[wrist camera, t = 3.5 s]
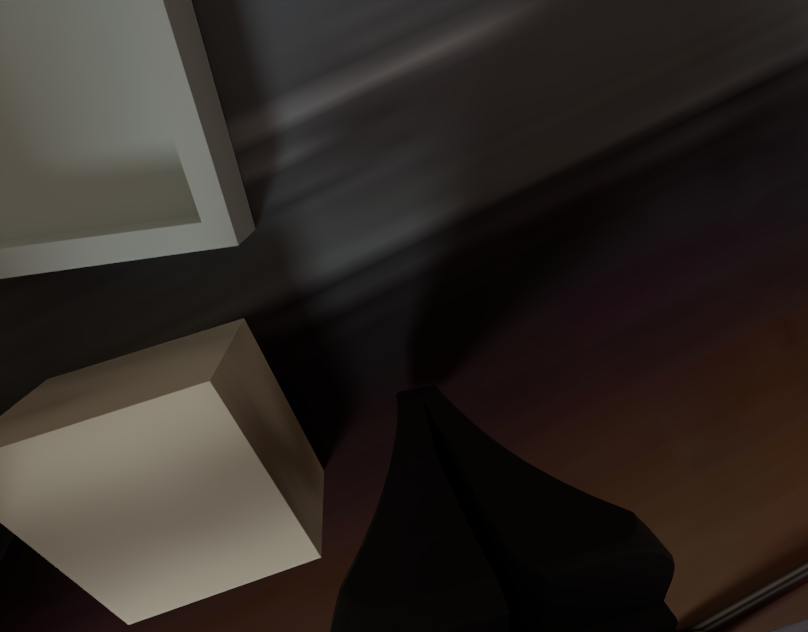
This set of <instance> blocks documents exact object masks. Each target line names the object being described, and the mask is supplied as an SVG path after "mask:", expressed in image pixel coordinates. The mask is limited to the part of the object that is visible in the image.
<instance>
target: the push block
mask: <svg viewBox="0 0 808 632" xmlns="http://www.w3.org/2000/svg"><path fill="white" fill-rule="evenodd" d="M323 479H324V470H323V468H322V466H321V464H320V463H319V461H318V459H317V457H316V455H315V453H314V451H313V449H312V447H311V445H310V443H309V442H308V440H307V438H306V436H305V434H304V432H303V430H302V428H301V426H300V424H299V422H298V420H297V419H296V417H295V415H294V413H293V411H292V409H291V407H290V405H289V403H288V401H287V399H286V398H285V396H284V394H283V392H282V390H281V388H280V386H279V384H278V382H277V380H276V378H275V376H274V375H273V373H272V371H271V369H270V367H269V365H268V363H267V361H266V359H265V357H264V355H263V354H262V352H261V350H260V348H259V346H258V344H257V342H256V340H255V338H254V336H253V334H252V332H251V331H250V329H249V327H248V325H247V323H246V321H245V319H244V318H243V319H239V320H236V321H233V322H230V323H227V324H223V325H220V326H217V327H214V328H210V329H207V330H204V331H201V332H198V333H194V334H191V335H188V336H185V337H181V338H178V339H175V340H172V341H169V342H165V343H162V344H159V345H156V346H153V347H149V348H146V349H143V350H140V351H136V352H133V353H130V354H127V355H124V356H120V357H117V358H114V359H111V360H108V361H104V362H101V363H98V364H95V365H91V366H88V367H85V368H82V369H79V370H75V371H72V372H69V373H66V374H62V375H59V376H56V377H53V378H50V379H47V380H45V381H44V382H43V383H42V384H40V385H39V386H38V387H37V388H35V389H34V390H33V391H31V392H30V393H29V394H28V395H26V396H25V397H24V398H23V399H21V400H20V401H19V402H17V403H16V404H15V405H14V406H12V407H11V408H10V409H9V410H7V411H6V412H5V413H3V414H2V415H1V416H0V523H1V524H3V525H4V526H5V527H6V528H8V529H9V530H10V531H11V532H13V533H14V534H15V535H16V536H18V537H19V538H20V539H21V540H23V541H24V542H25V543H26V544H28V545H29V546H30V547H31V548H33V549H34V550H35V551H36V552H38V553H39V554H40V555H41V556H43V557H44V558H45V559H46V560H48V561H49V562H50V563H52V564H53V565H54V566H55V567H57V568H58V569H59V570H60V571H62V572H63V573H64V574H65V575H67V576H68V577H69V578H70V579H72V580H73V581H74V582H75V583H77V584H78V585H79V586H80V587H82V588H83V589H84V590H85V591H87V592H88V593H89V594H90V595H92V596H93V597H94V598H95V599H97V600H98V601H99V602H100V603H102V604H103V605H104V606H105V607H107V608H108V609H109V610H110V611H112V612H113V613H114V614H115V615H117V616H118V617H119V618H121V619H122V620H123V621H124V622H126V623H127V624H128V625H130V624H133V623H135V622H138V621H141V620H144V619H147V618H150V617H153V616H155V615H158V614H161V613H164V612H167V611H170V610H172V609H175V608H178V607H181V606H184V605H187V604H190V603H192V602H195V601H198V600H201V599H204V598H207V597H210V596H212V595H215V594H218V593H221V592H224V591H227V590H230V589H232V588H235V587H238V586H241V585H244V584H247V583H250V582H252V581H255V580H258V579H261V578H264V577H267V576H269V575H272V574H275V573H278V572H281V571H284V570H287V569H289V568H292V567H295V566H298V565H301V564H304V563H307V562H309V561H312V560H315V559H318V558H321V545H322V512H323Z"/></svg>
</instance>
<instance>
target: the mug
mask: <svg viewBox="0 0 808 632" xmlns="http://www.w3.org/2000/svg"><path fill="white" fill-rule="evenodd" d="M13 535H14V533H13V532H11V531H10V530H9V529H8V528H6V527H5V526H4V525H3V524H1V523H0V562H1V560H2V558H3V556H4V554H5V552H6V550H7V548H8V546H9V544H10V542H11V540H12V537H13Z"/></svg>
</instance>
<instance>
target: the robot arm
mask: <svg viewBox="0 0 808 632" xmlns="http://www.w3.org/2000/svg"><path fill="white" fill-rule="evenodd" d="M396 401H397V408H398V419H397V429H396V438H395V444H394V449H393V454H392V459H391V463H390V467H389V471H388V475H387V478H386V482H385V485H384V489H383V492H382V495H381V497H380V500H379V503H378V506H377V509H376V512H375V514H374V517H373V519H372V522H371V524H370V526H369V529H368V531H367V533H366V536H365V538H364V540H363V543H362V545H361V547H360V549H359V552H358V554H357V556H356V558H355V560H354V562H353V564H352V565H351V567H350V569H349V571H348V573H347V575H346V577H345V579H344V581H343V583H342V585H341V587H340V590H339V594H338V598H337V602H336V606H335V611H334V615H333V620H332V625H331V630H330V632H678V631H677V630H676V628H675V627H676V626H677V624H678V622H677V619H676V617H675V616H674V614H673V613H672V612H671V610H670V609H669V608H668V606H667V605H666V604H665V602H664V599H665V596H666V594H667V591H668V588H669V586H670V583H671V581H672V578H673V573H674V566H675V564H674V560H673V557H672V555H671V554H670V553H669V551H668V550H667V549H666V548H665V547H664V545H663V544H662V543H661V542H660V541H659V540H658V538H657V537H656V536H655V535H654V534H653V533H652V531H651V530H650V529H649V528H648V527H647V526H646V525H645V524H644V523H643V522H642V521H641V520H640V519H639V518H638V517H637V516H636V515H635V514H634V513H633V512H631V511H629V510H626V509H624V508H621V507H619V506H616V505H614V504H611V503H609V502H606V501H604V500H601V499H599V498H596V497H594V496H591V495H589V494H587V493H585V492H583V491H580V490H578V489H576V488H574V487H572V486H570V485H568V484H566V483H564V482H562V481H560V480H558V479H556V478H554V477H552V476H550V475H549V474H547V473H545V472H543V471H541V470H539V469H538V468H536V467H534V466H532V465H531V464H529V463H527V462H526V461H524V460H523V459H521V458H519V457H518V456H516V455H515V454H513V453H512V452H510V451H509V450H507V449H506V448H505V447H503V446H502V445H500V444H499V443H498V442H496V441H495V440H494V439H492V438H491V437H490V436H489V435H487V434H486V433H485V432H484V431H482V430H481V429H480V428H479V427H477V426H476V425H475V424H474V423H473V422H472V421H471V420H470V419H468V418H467V417H466V416H465V415H464V414H463V413H462V412H461V411H460V410H459V409H457V408H456V407H455V406H454V405H453V404H452V403H451V402H450V401H449V400H448V399H447V398H446V396H445V395H444V394H443V393H442V392H441V391H440V390H439V389H438V388H437V387H436V386H434V385H432V386H427V387H422V388H417V389H412V390H407V391H402V392H399V393H398V394H397V395H396ZM768 632H808V619H805V620H802V621H799V622H796V623H793V624H789V625H786V626H783V627H780V628H777V629H774V630H771V631H768Z"/></svg>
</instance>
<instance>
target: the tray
mask: <svg viewBox="0 0 808 632" xmlns="http://www.w3.org/2000/svg"><path fill="white" fill-rule="evenodd" d="M254 230H255V225H254V222H253V218H252V215H251V211H250V207H249V204H248V200H247V197H246V193H245V190H244V186H243V183H242V179H241V175H240V172H239V168H238V165H237V161H236V158H235V154H234V150H233V147H232V143H231V140H230V136H229V133H228V129H227V126H226V122H225V118H224V115H223V111H222V108H221V104H220V101H219V97H218V94H217V90H216V86H215V83H214V79H213V76H212V72H211V69H210V65H209V61H208V58H207V54H206V51H205V47H204V44H203V40H202V37H201V33H200V29H199V26H198V22H197V19H196V15H195V12H194V8H193V4H192V1H191V0H0V279H3V278H10V277H18V276H25V275H32V274H39V273H46V272H53V271H60V270H68V269H75V268H82V267H89V266H96V265H103V264H111V263H118V262H125V261H132V260H139V259H146V258H153V257H161V256H168V255H175V254H182V253H189V252H196V251H204V250H211V249H218V248H225V247H232V246H239V245H240V244H241V243H242V242H243V241H244V240H245V239H246V238H247V237H248V236H249V235H250V234H251V233H252V232H253V231H254Z"/></svg>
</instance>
